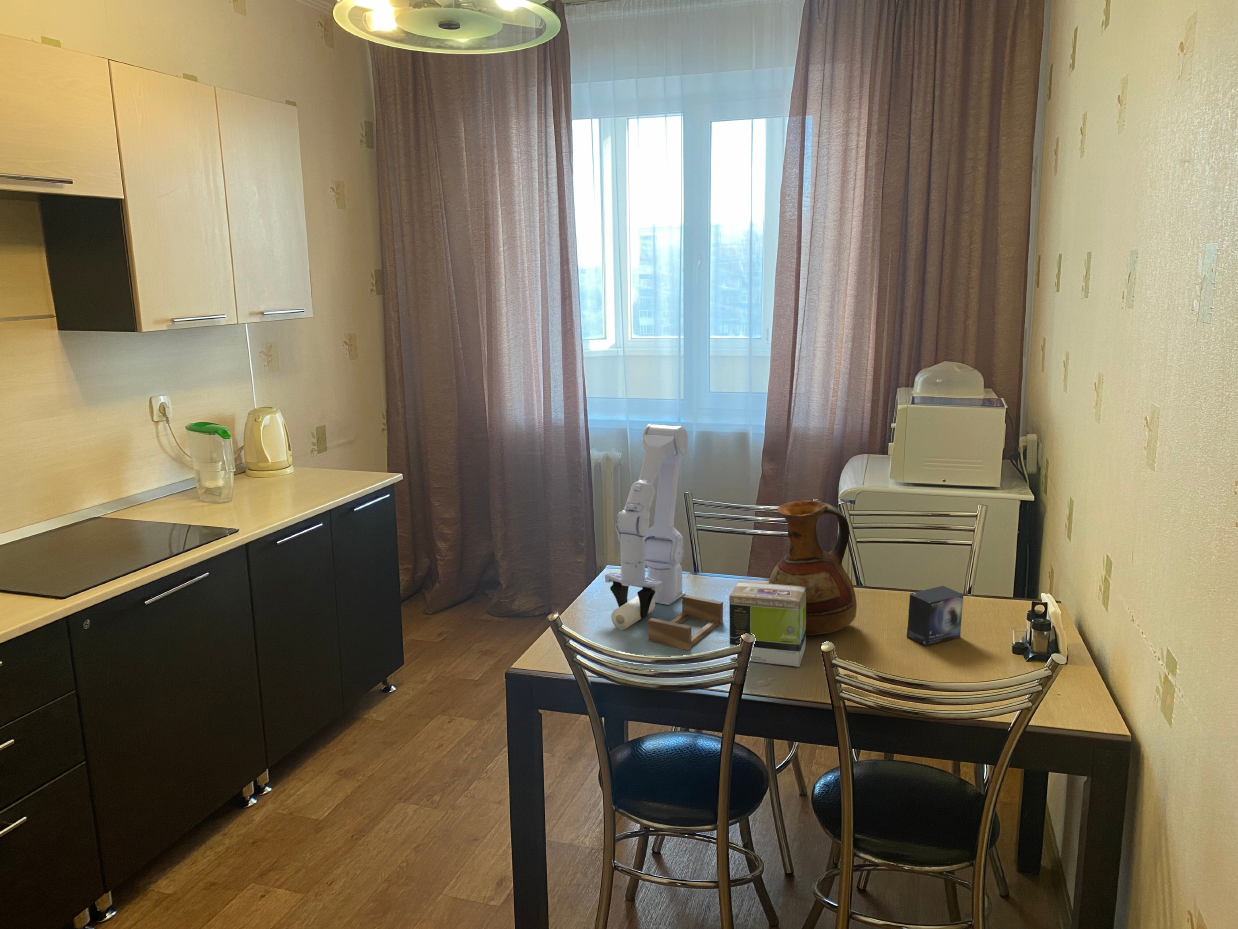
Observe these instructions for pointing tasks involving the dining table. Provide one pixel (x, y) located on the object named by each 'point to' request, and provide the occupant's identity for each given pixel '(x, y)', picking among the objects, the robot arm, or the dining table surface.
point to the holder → (682, 634)
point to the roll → (629, 613)
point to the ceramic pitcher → (817, 567)
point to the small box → (935, 615)
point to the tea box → (770, 621)
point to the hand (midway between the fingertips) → (633, 614)
